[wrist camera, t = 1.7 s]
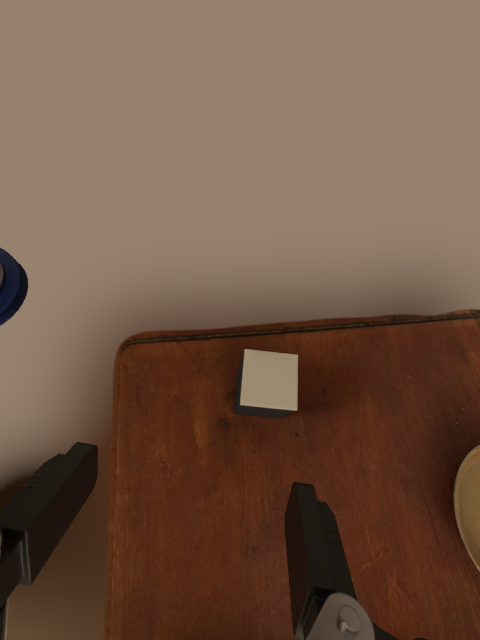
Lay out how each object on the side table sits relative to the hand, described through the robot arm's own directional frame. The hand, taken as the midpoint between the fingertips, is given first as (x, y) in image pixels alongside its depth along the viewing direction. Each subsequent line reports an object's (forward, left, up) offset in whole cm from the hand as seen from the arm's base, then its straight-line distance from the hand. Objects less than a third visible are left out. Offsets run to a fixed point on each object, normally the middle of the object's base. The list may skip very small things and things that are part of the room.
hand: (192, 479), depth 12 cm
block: (+5, +7, -20) cm, 22 cm away
